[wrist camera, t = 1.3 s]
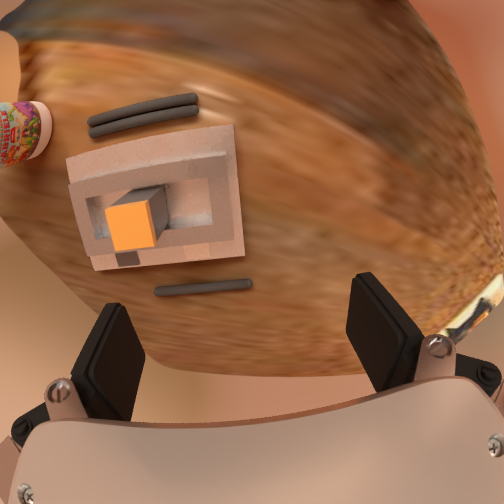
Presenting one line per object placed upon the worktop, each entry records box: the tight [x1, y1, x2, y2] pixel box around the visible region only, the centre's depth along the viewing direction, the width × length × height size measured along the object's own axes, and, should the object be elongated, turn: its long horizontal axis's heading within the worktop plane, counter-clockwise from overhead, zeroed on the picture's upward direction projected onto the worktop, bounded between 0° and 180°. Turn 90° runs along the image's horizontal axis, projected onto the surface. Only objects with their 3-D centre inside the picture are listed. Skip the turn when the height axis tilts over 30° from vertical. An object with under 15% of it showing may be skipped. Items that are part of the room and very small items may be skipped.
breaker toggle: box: [105, 185, 169, 251], centre depth 25 cm, size 4×4×7 cm
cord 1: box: [87, 93, 199, 138], centre depth 25 cm, size 13×3×1 cm, turn 94°
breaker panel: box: [66, 125, 245, 271], centre depth 28 cm, size 15×20×4 cm
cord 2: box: [154, 279, 252, 296], centre depth 35 cm, size 13×1×1 cm, turn 94°
